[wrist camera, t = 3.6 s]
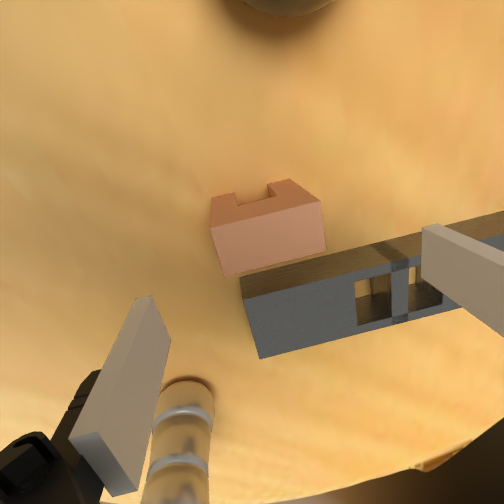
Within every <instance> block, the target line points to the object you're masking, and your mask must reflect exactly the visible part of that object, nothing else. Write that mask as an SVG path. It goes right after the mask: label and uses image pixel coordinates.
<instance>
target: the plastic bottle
mask: <svg viewBox="0 0 504 504" xmlns="http://www.w3.org/2000/svg"><path fill="white" fill-rule="evenodd" d="M214 416H215V406H214V401H213V397H212V394H211V393H210V391H209V390H208V389H207V388H206V387H205V386H204V385H203V384H201V383H199V382H196V381H188V380H186V381H179V382H176V383H174V384H172V385H170V386H169V387H168V388H166V389H165V390H164V391H163V392H162V393H161V394H160V396H159V397H158V402H157V406H156V411H155V415H154V420H153V424H152V435H153V436H152V445H151V454H150V463H149V469H148V473H147V478H146V483H145V486H144V490H143V495H142V499H141V503H140V504H210V503H209V480H208V461H209V450H210V439H211V432H212V427H213V423H214Z"/></svg>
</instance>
